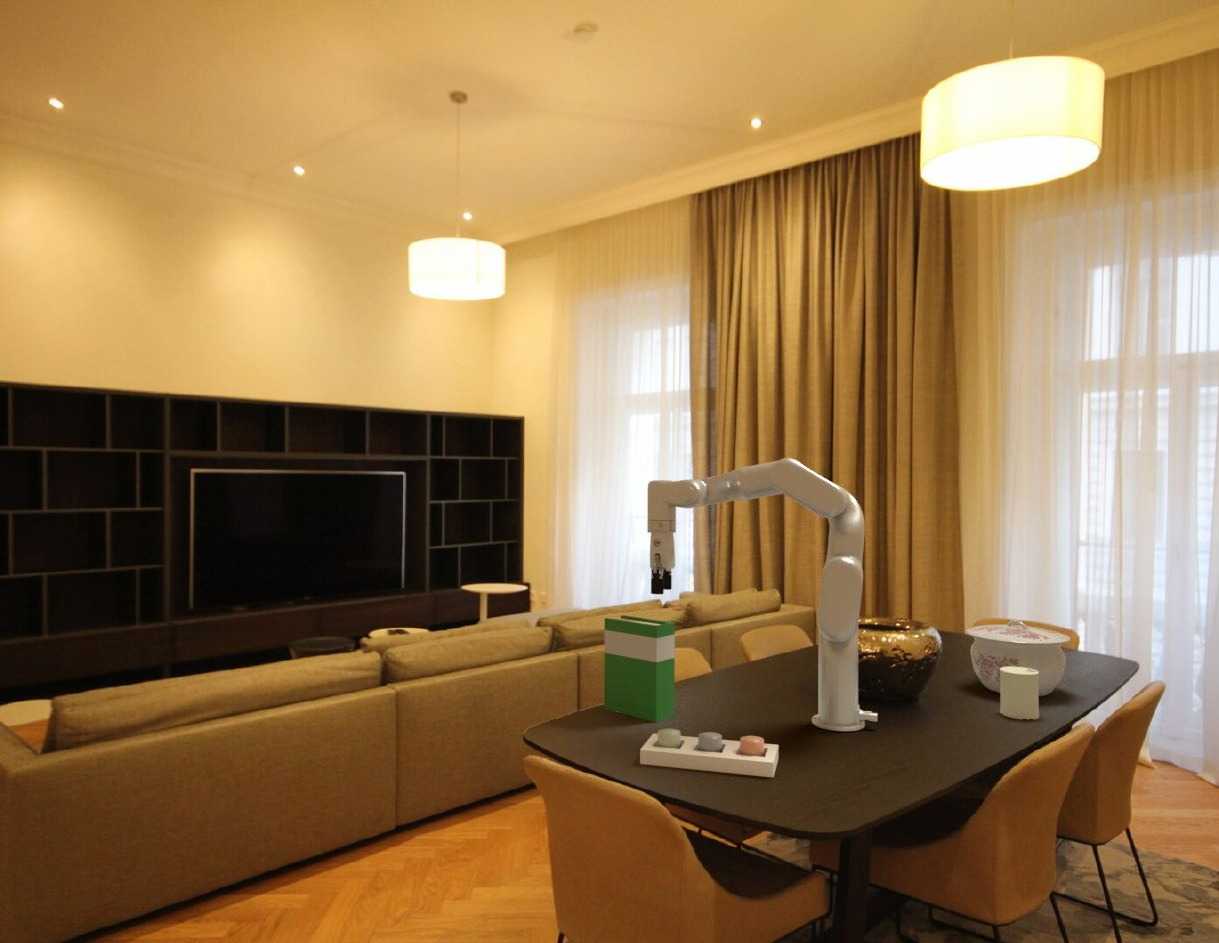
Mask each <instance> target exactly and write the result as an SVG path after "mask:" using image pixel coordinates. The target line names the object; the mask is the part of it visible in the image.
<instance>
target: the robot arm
mask: <svg viewBox="0 0 1219 943" xmlns="http://www.w3.org/2000/svg"><path fill="white" fill-rule="evenodd" d="M777 495H785V496H786V497H788V498H789V499H791V500H793V501H794V502H796V503H798V504H799V505H800V506H802V507H804V508H805V509H807V510H809V511H810V512H812V513H813V514H815V515H816V516H818V517H821V518H824V519H827V520H828V525H829V531H828V532H829V533H828V543H827V544H828V545H827V551H826V559H825V562H824V563H825V564H824V566H823V568H822V572H821V578H820V590H819V600H818V607H817V617H816V623H817V627H818V653H817V654H818V658H817V659H818V665H817V668H818V671H817V672H818V673H817V674H818V677H817V678H818V679H817V680H818V681H817V683H818V684H817V686H818V689H817V691H818V695H817V696H818V697H817V698H818V699H817V700H818V701H817V702H818V704H817V707H818V713H817V714H815V715H813V716H812V717H811V723H812V725H814V726H816V727H818V728H821V729H822V730H827V731H833V732H855V731H860V730H862V729H864V728H865V725H866V724H865V723H866V722H865V721H870V722H878V713H877V712H873V711H872V710H871V711H870V710H866V711H865V710H862V709H860V704H859V621H860V611H861V604H862V603H861V602H862V596H863V584H864V583H863V582H864V570H863V556H864V547H865V544H864V543H865V533H866V531H865V529H866V526H865V525H866V524H865V523H866V522H865V517H864V512H863V510H862V507H861V505H860V504H859V502H858V501H857V499H856V498H855V497H854V496H853V495H852V494H851V493H850V492H849V491H847V490H846V489H845V488H844V487H841V485H838V484H836V483H833V482H832V481H830V480H828V479H827V478H824V477H823V476H822V475H819V474H818V473H817V472H814V471H813V470H812V469H810V468H808V467H806V466H805V465H803V464H802V463H801V462H800V461H798V459H794V458H791V457H787V458H786V457H785V458H781V459H779V460H775V461H769V462H766V463H765V462H764V463H760V464H758V463H757V464H753V465H749V466H742V467H739V468H736V469H733V470H730V471H729V472H726V473H723V474H718V475H712V476H709V477H708V476H707V477H702V478H696V479H681V480H676V481H675V480H668V479H666V480H663V479H662V480H661V479H659V480H657V479H654V480H650V481H649V482H648V484H647V524H646V525H647V526H646V527H647V533H650V544H649V545H650V546H649V567H650V569H651V570H650V571H651V573H650V574H651V576H650V594H651V595H663V594H664V591H665V590H672V587H673V584H672V579H673V578H672V576H673V575H672V570H673V569H674V568H675V567H676V554H675V552H676V550H675V549H676V548H675V539H674V538H675V537H674V534H675V533H677V508H681V509H694V508H700V507H705V506H706V507H707V506H712V505H716V504H723V503H728V502H745V501H749V500H756V499H760V498H766V497H771V496H777Z"/></svg>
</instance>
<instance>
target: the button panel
mask: <svg viewBox="0 0 1219 943" xmlns="http://www.w3.org/2000/svg"><path fill="white" fill-rule="evenodd" d="M779 746H780V745H779V744H773V743H764V757H759V756H748V755H740V740H729V739H722V753H717V752H707V751H698V737H697V736H687V735H686V736H685V735H681V748H680V749H675V748H665V747H658V733H654V732H653V733H652V734H651V736H649V738H648V739H647V741H646V742H645V743H644V744H643V746H642V747H641V748H640V750H639V764H640V765H649V766H658V767H666V768H676V769H686V770H687V769H688V770H697V771H698V770H699V771H704V772H705V771H706V772H717V773H723V774H724V773H726V774H736V775H744V776H745V775H746V776H754V777H755V776H756V777H764V778H765V777H766V778H774V777H775V772H776V769H777V765H778V762H779V760H780V759H779V753H780V752H779V751H780V750H779V748H780V747H779Z"/></svg>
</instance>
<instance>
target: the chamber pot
mask: <svg viewBox="0 0 1219 943" xmlns="http://www.w3.org/2000/svg"><path fill="white" fill-rule="evenodd" d="M964 632H965V633H966V634H967V636H970V637H973V639H974V641H973V643H972V645H971V646H970V658H971V663H972V667H973V670H974V672H975V673H976V675H977V677H978V679H979V681H980V682H981V684H982V685H983V686H984V687H985V688H986V689H988V690H990V691H992V692H995V693H996V692H997V693H996V694H999V693H1000V668H1002V667H1024V668H1030V669H1034V670H1037V671H1038V672H1039V684H1038V698H1039V696H1040V697H1043V696H1047V695H1050V694H1051V693H1052V692H1053V691H1054V690H1055V688H1056V687H1057V686H1058V684H1059V683H1060V681H1061V680H1062V678H1063V677H1064V671H1065V668H1066V653H1065V652H1064V650H1063V649H1062V645H1063V644H1068V643H1069V642H1071V640H1072V638H1071V637H1070V636H1069V635H1067V634H1065V633H1061V632H1059V631H1056V630H1054V629H1049V628H1048V629H1047V628H1042V627H1039V626H1033V625H1032V626H1031V625H1026V624H1025V623H1024V622H1022V621H1020V620H1018V619H1013V620H1009V622H1008V623H1006V624H1003V623H1002V624H1000V623H999V624H997V623H996V624H995V623H994V624H982V625H981V624H980V625H975V626H973V627H969V628H967V629H965V630H964Z"/></svg>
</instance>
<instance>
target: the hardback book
mask: <svg viewBox="0 0 1219 943" xmlns="http://www.w3.org/2000/svg"><path fill="white" fill-rule="evenodd" d="M675 624H676V623H675V622H673V621H665V620H659V619H653V618H644V617H637V616H632V615H624V614H622V615H620V618H617V619H616V618H610V617H606V618H605V617H604V676H603V677H604V679H603V680H604V681H603V682H604V687H603V688H604V690H603V691H604V692H603V693H604V699H603V700H604V702H603V703H604V710H605V711H609V710H610V711H609V712H613V711H618V712H621V713H624V714H623V715H625V714H628V715H627V716H629V715H631V716H630V717H633V716H634V717H633V718H637V717H638V718H637V719H640V720H645V719H646V720H645V721H649V722H653V723H659V722H662V721H665V720H668V719H671V718H673V717H674V718H675V717H676V716H675V710H676V709H675V706H676V705H675V702H676V700H675V698H676V697H675V696H676V695H675V687H676V686H675V681H676V680H675V677H676V675H675V672H676V671H675V667H676V666H675V662H676V660H675V652H676V651H675V648H676V646H675V645H676V644H675V643H676V642H675V641H676V640H675V638H676V637H675V632H676V630H675V629H676V628H675V627H676V626H675ZM621 713H620V714H621Z"/></svg>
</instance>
